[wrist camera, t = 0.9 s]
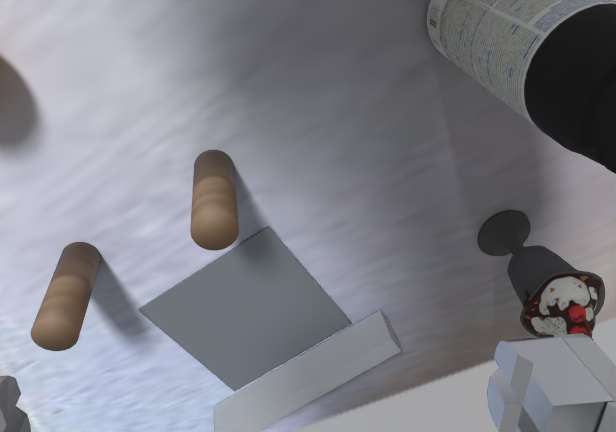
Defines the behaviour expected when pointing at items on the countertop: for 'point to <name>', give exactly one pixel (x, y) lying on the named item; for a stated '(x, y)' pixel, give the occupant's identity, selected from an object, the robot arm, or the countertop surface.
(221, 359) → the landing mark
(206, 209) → the post
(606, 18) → the spray can
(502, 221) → the sundae
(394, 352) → the bar
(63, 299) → the post
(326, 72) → the countertop surface
